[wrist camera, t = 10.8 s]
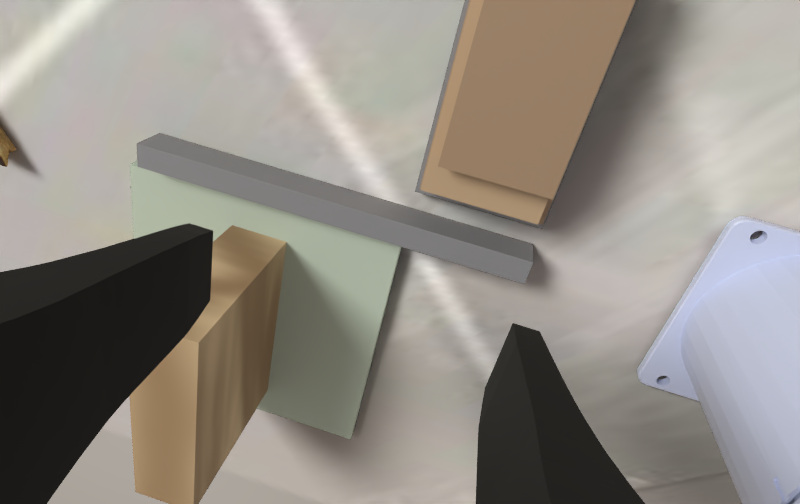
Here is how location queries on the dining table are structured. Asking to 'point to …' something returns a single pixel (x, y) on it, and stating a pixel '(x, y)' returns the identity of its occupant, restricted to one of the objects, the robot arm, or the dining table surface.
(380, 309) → the sage mat
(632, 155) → the dining table surface
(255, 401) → the oak block
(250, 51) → the dining table surface
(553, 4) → the offcut rack
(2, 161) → the shard
